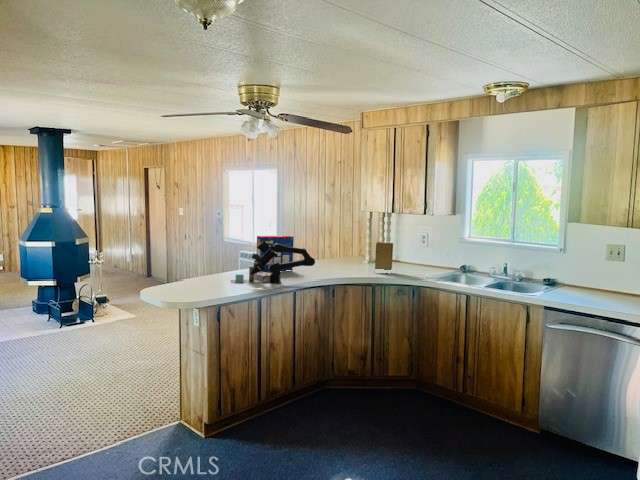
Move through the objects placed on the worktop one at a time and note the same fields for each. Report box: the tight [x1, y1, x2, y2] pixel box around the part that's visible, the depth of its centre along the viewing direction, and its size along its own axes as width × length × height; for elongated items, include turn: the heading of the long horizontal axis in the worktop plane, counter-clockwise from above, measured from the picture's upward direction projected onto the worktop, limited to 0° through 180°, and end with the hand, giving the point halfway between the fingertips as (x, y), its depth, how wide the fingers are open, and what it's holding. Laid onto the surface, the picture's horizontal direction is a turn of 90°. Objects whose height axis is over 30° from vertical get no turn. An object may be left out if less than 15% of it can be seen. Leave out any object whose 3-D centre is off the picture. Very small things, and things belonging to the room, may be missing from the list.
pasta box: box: [256, 235, 295, 273], centre depth 378 cm, size 28×8×28 cm, turn 121°
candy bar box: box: [254, 272, 272, 283], centre depth 338 cm, size 11×5×16 cm
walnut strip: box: [229, 266, 260, 284], centre depth 325 cm, size 19×12×11 cm, turn 102°
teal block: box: [235, 273, 245, 282], centre depth 324 cm, size 5×5×5 cm
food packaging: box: [374, 241, 394, 270], centre depth 390 cm, size 13×9×25 cm
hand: (250, 273), depth 326 cm, fingers open, 6 cm apart
